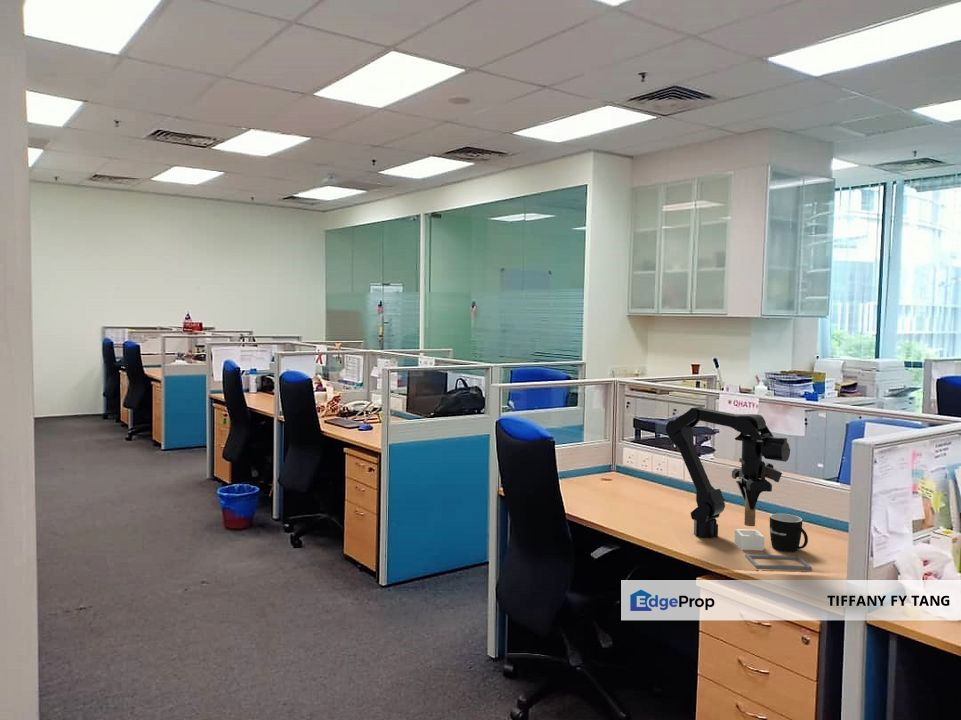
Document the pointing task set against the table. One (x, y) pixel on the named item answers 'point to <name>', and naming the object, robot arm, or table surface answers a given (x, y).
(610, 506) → the table surface
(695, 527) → the robot arm
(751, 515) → the pin
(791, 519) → the mug
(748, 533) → the white open box
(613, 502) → the table surface
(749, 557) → the grey rectangular frame
